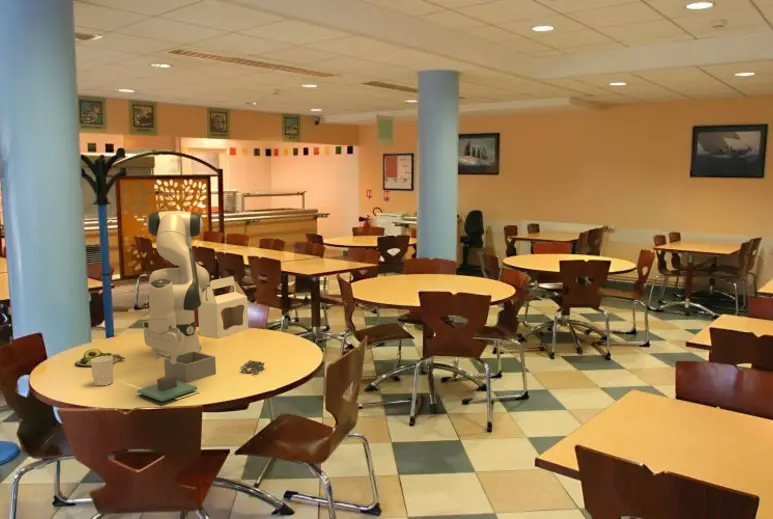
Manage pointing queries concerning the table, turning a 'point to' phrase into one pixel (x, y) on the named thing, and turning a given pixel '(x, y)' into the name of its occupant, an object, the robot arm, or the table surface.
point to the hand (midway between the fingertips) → (165, 361)
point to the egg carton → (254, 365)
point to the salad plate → (93, 354)
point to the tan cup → (102, 370)
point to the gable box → (213, 306)
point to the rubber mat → (160, 401)
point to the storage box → (191, 366)
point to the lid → (167, 389)
